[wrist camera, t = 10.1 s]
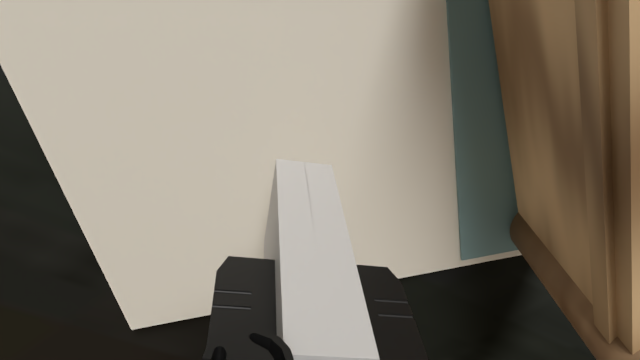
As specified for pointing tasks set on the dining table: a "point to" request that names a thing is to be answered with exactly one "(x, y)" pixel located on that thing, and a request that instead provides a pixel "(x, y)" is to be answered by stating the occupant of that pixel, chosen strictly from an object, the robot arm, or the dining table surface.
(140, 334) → the dining table surface
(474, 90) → the card
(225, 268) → the robot arm
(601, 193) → the fence wing
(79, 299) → the dining table surface
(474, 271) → the dining table surface
